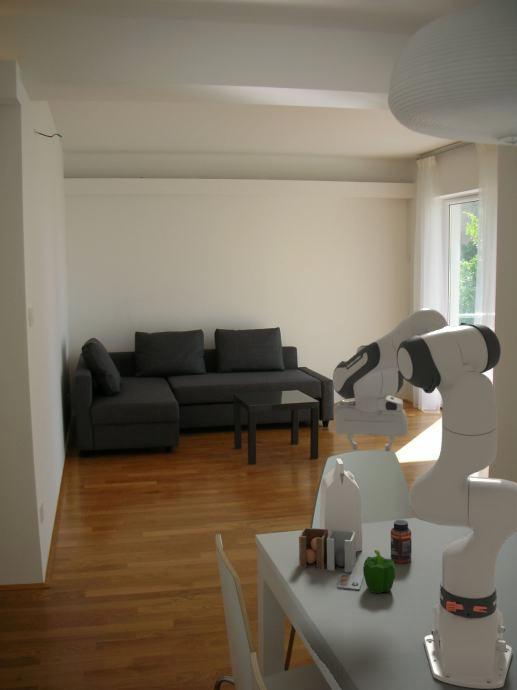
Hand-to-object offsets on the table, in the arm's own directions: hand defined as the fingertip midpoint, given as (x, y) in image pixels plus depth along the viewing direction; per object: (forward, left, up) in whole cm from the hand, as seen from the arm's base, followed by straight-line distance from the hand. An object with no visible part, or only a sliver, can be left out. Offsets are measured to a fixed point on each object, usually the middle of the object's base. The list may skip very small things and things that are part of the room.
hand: (371, 450), depth 198 cm
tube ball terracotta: (-4, +16, -33) cm, 37 cm away
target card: (-14, +4, -33) cm, 36 cm away
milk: (+12, +11, -33) cm, 37 cm away
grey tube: (-4, +8, -33) cm, 34 cm away
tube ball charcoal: (-4, +8, -33) cm, 34 cm away
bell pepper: (-16, -4, -33) cm, 37 cm away
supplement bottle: (+4, -8, -33) cm, 34 cm away
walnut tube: (-4, +16, -33) cm, 37 cm away
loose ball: (-3, +17, -28) cm, 33 cm away
